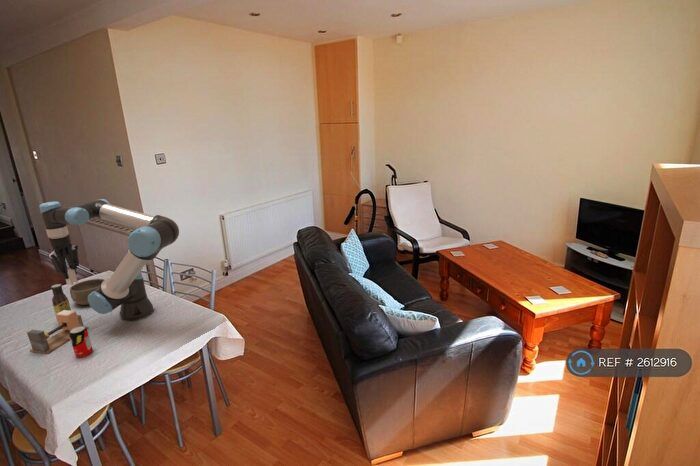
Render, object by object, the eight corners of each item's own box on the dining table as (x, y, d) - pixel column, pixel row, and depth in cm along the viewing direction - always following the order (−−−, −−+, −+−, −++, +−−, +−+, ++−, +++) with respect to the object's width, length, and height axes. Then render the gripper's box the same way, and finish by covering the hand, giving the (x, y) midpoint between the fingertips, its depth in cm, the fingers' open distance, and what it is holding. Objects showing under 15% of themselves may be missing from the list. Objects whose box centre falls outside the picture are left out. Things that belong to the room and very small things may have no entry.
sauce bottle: (65, 326, 178) (54, 289, 172) (55, 324, 180) (43, 288, 173) (77, 319, 184) (66, 283, 178) (67, 317, 186) (56, 282, 179)
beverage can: (82, 349, 160) (75, 325, 156) (96, 349, 160) (89, 325, 156) (71, 358, 154) (64, 333, 150) (86, 358, 154) (79, 333, 150)
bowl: (102, 290, 214) (98, 275, 211) (116, 298, 204) (112, 282, 201) (68, 302, 201) (63, 286, 198) (80, 312, 191) (75, 294, 188)
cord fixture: (71, 326, 178) (66, 308, 175) (88, 328, 176) (83, 310, 173) (29, 351, 159) (23, 332, 156) (48, 354, 157) (41, 334, 154)
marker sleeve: (80, 325, 173) (75, 310, 171) (72, 330, 169) (67, 315, 167) (67, 324, 174) (63, 309, 172) (60, 329, 171) (55, 314, 168)
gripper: (67, 230, 172) (79, 276, 180) (35, 241, 159) (51, 289, 166) (80, 231, 171) (92, 277, 178) (49, 241, 157) (64, 291, 165)
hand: (72, 283), depth 172 cm, fingers open, 2 cm apart
